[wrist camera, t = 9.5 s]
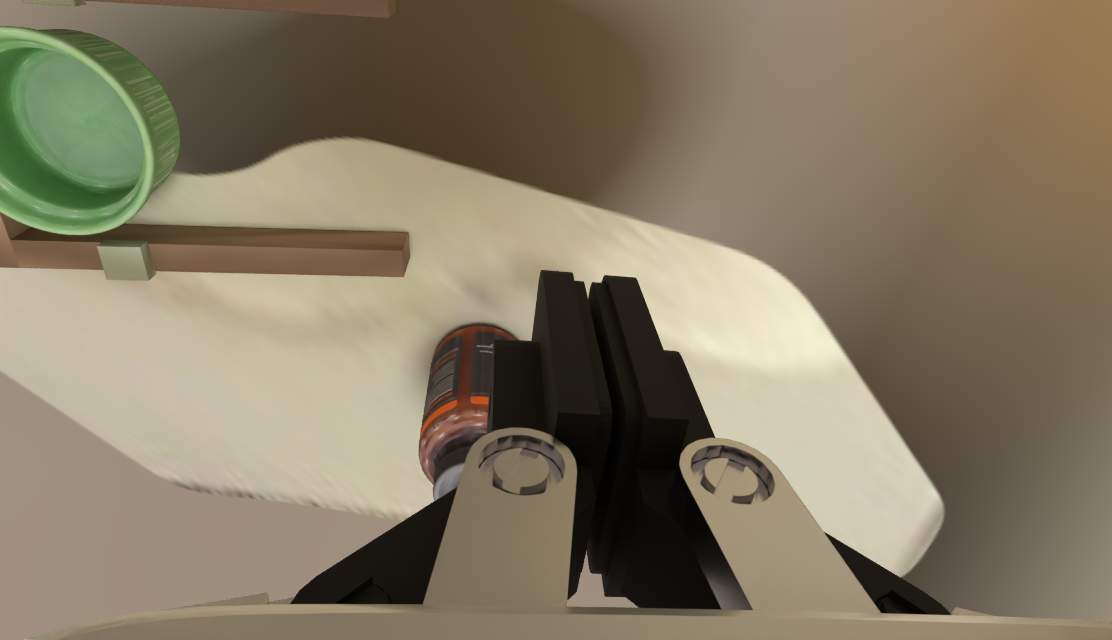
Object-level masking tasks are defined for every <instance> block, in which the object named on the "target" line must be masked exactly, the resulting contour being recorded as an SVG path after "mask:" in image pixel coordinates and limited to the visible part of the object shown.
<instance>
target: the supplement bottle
mask: <svg viewBox="0 0 1112 640" xmlns="http://www.w3.org/2000/svg"><path fill="white" fill-rule="evenodd" d="M494 339H506V340H516V339H515V338H514V337H512V336H511V335H510V334H508V333H506V332H505V331H502V330H500V329H497V328H494V327H489V326H472V327H466V328H463V329H460V330H457V331H455V332H454V333H452V334H450V335H449V336H448V337H446V338H445V339H444V340H443V341H442V342H441V344H440V345H439V346H438V348H437V349H436V351H435V353H434V356H433V360H432V363H431V369H430V376H429V382H428V389H427V396H426V402H425V407H424V415H423V420H422V428H421V434H420V441H419V459H420V464H421V467H422V470H423V472H424V474H425V475H426V477H427V478H428V479H429V481H430V482H431V483H432V484H433V485H434V487H433V496H434V500H435V501H436V500H437V499H439V498H440V497H442V496H444V495H445V494H447V493H448V492H450V491H451V490H453V489H455V488H456V487H458V484H459V481H460V477H461V474H462V471H463V467H464V464H465V461H466V457H467V454H468V453H469V451H470V449H471V447H472V445H473V444H474V443H475V442H476V441H478V440H479V439H480V438H481V437H482V436H484V435H486V434H487V417H488V400H489V386H490V374H491V363H492V352H493V343H494Z"/></svg>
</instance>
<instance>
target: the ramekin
mask: <svg viewBox="0 0 1112 640" xmlns="http://www.w3.org/2000/svg"><path fill="white" fill-rule="evenodd" d="M179 149H180V130H179V124H178V119H177V116H176V113H175V110H174V107H173V105H172V103H171V101H170V99H169V97H168V95H167V93H166V91H165V90H164V88H163V87H162V85H161V83H160V82H159V81H158V80H157V79H156V77H155V76H154V75H153V73H152V72H151V71H150V70H149V69H148V68H147V67H146V66H145V65H144V64H142V63H141V62H140V61H139V60H138V59H137V58H136V57H134V56H133V55H132V54H130V53H129V52H128V51H126V50H124V49H123V48H121V47H120V46H118V45H116V44H114V43H112V42H110V41H108V40H106V39H103V38H100V37H98V36H95V35H92V34H88V33H84V32H80V31H74V30H65V29H52V30H35V29H30V28H23V27H11V26H9V27H8V26H2V27H1V26H0V212H1V213H3V214H5V215H6V216H8V217H10V218H12V219H14V220H16V221H18V222H21V223H23V224H26V225H28V226H31V227H34V228H37V229H40V230H44V231H48V232H52V233H58V234H66V235H90V234H96V233H101V232H105V231H108V230H111V229H114V228H116V227H118V226H120V225H122V224H124V223H125V222H127V221H128V220H130V219H131V218H132V217H133V216H134V215H135V214H136V213H137V212H138V211H139V210H140V209H141V208H142V207H143V205H144V204H145V202H146V201H147V199H148V198H149V196H150V194H151V193H152V192H153V191H154V190H155V189H156V188H158V187H159V186H160V185H161V184H162V183H163V182H164V181H165V179H166V178H167V177H168V175H169V174H170V173H171V171H172V170H173V167H174V165H175V163H176V160H177V157H178V154H179Z"/></svg>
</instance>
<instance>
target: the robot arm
mask: <svg viewBox="0 0 1112 640" xmlns="http://www.w3.org/2000/svg"><path fill="white" fill-rule="evenodd" d="M586 550H587V556H588V562H589V569H590V572H591V573H593V574H601V575H602V581H603V588H604V595H605V597H626V598H628V599H629V600H630V601H631V602H633V603H634V604H635V605H636V606H637V608H616V607H567V600H568V599H570V597H571V596H573V595H574V594H575V593H576V592H577V588H578V583H579V578H580V573H581V572H582V569H583V563H584V559H585V555H586ZM25 640H1112V622H1105V621H1092V620H1076V619H1048V618H1020V617H998V616H997V617H996V616H991V615H987V614H983V613H978V612H974V611H970V610H965V609H961V608H955V609H954V610H953V612H952V614H950V613H949V612H948V611H947V610H946V609H945V608H944V607H943V606H942V605H941V604H940V603H939V602H937V601H936V600H934V599H933V598H932V597H930V596H929V595H928V594H926V593H925V592H923V591H922V590H920V589H918V588H917V587H915V586H913V585H912V584H910V583H908V582H906V581H905V580H903V579H902V578H900V577H898V576H897V575H895V574H893V573H892V572H890V571H888V570H887V569H885V568H883V567H882V566H880V565H878V564H877V563H875V562H873V561H872V560H870V559H868V558H867V557H865V556H863V555H862V554H860V553H858V552H857V551H855V550H853V549H852V548H850V547H848V546H847V545H845V544H843V543H842V542H840V541H838V540H837V539H835V538H833V537H832V536H830V535H828V534H827V533H825V532H823V530H822V529H821V528H820V526H819V525H818V523H817V522H816V520H815V519H814V518H813V516H812V515H811V513H810V512H809V511H808V509H807V508H806V506H805V505H804V503H803V502H802V501H801V499H800V498H799V496H798V495H797V494H796V492H795V491H794V489H793V488H792V487H791V485H790V484H789V482H788V481H787V479H786V478H785V477H784V475H783V474H782V472H781V471H780V470H779V469H778V467H777V466H776V465H775V464H774V463H773V462H772V461H771V460H770V459H769V458H768V457H766V456H765V455H763V454H762V453H761V452H759V451H758V450H756V449H754V448H752V447H750V446H747V445H745V444H743V443H740V442H737V441H733V440H729V439H722V438H715V436H714V433H713V431H712V429H711V426H710V424H709V421H708V419H707V417H706V414H705V412H704V409H703V407H702V404H701V402H700V400H699V397H698V395H697V392H696V390H695V388H694V385H693V383H692V380H691V378H690V375H689V373H688V371H687V368H686V366H685V363H684V361H683V359H682V357H681V355H680V353H679V352H677V351H667V350H663V347H662V344H661V342H660V339H659V337H658V334H657V331H656V329H655V326H654V323H653V321H652V318H651V315H650V313H649V310H648V307H647V305H646V302H645V299H644V297H643V294H642V292H641V289H640V286H639V284H638V281H637V279H636V278H633V277H620V276H608V275H605V276H604V277H603V280H602V283H595V282H592V284H591V287H590V292H589V298H588V297H587V293H586V289H585V284H584V282H582V281H574V277H573V273H571V272H559V271H547V270H541V272H540V277H539V285H538V293H537V301H536V309H535V317H534V325H533V334H532V341H520V340H506V339H494V343H493V352H492V363H491V374H490V386H489V400H488V417H487V434H486V435H484V436H482V437H481V438H480V439H479V440H478V441H476V442H475V443H474V444H473V445H472V447H471V449H470V451H469V453H468V454H467V457H466V461H465V464H464V467H463V471H462V474H461V477H460V481H459V484H458V487H456V488H455V489H453V490H451V491H450V492H448V493H447V494H445V495H444V496H442V497H440V498H439V499H437V500H436V501H434V502H433V503H431V504H429V505H428V506H426V507H425V508H423V509H422V510H420V511H418V512H417V513H415V514H414V515H412V516H411V517H409V518H407V519H406V520H404V521H403V522H401V523H400V524H398V525H396V526H395V527H393V528H392V529H390V530H389V531H387V532H385V533H384V534H382V535H381V536H379V537H378V538H376V539H374V540H373V541H372V542H370V543H368V544H367V545H365V546H364V547H362V548H360V549H359V550H357V551H356V552H354V553H352V554H351V555H349V556H348V557H346V558H345V559H343V560H342V561H340V562H338V563H337V564H335V565H334V566H332V567H330V568H329V569H327V570H326V571H325V572H323V573H321V574H319V575H318V576H316V577H315V578H314V579H313V580H311V581H310V582H309V583H308V584H307V585H305V586H304V587H303V588H302V589H301V590H300V591H299V592H298V594H297V595H296V596H295V597H294V598H288V599H282V600H277V601H271V602H269V595H268V592H266V593H260V594H254V595H248V596H242V597H237V598H231V599H225V600H219V601H213V602H207V603H202V604H195V605H190V606H184V607H178V608H172V609H166V610H160V611H151V612H141V613H135V614H130V615H125V616H119V617H114V618H109V619H103V620H98V621H93V622H87V623H82V624H77V625H73V626H69V627H66V628H62V629H59V630H55V631H52V632H48V633H45V634H42V635H38V636H35V637H31V638H28V639H25Z"/></svg>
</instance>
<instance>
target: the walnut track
mask: <svg viewBox="0 0 1112 640" xmlns="http://www.w3.org/2000/svg"><path fill="white" fill-rule="evenodd" d="M22 1H23V3H31V4H49V5H67V6H79V5H86V3H85V1H101V2H119V3H137V4H156V5H172V6H189V7H207V8H225V9H242V10H260V11H277V12H278V11H279V12H295V13H296V12H297V13H312V14H330V15H331V14H332V15H347V16H365V17H366V16H367V17H383V18H389V17H391V16H392V15H394V14H395V13H396V12H397V9H396V0H22ZM409 259H410V251H409V233H405V232H371V231H338V230H304V229H270V228H237V227H203V226H169V225H136V224H122V225H120V226H118V227H116V228H114V229H111V230H108V231H105V232H101V233H96V234H90V235H66V234H58V233H52V232H48V231H44V230H40V229H37V228H34V227H31V226H28V225H26V224H23V223H21V222H18V221H16V220H14V219H12V218H10V217H8V216H6V215H5V214H3V213H1V212H0V267H7V268H49V269H91V270H104V272H105V275H106V279H107V280H146V281H149V280H150V279H151V278H152V277H153V276H154V275H155V274H156V271H174V272H215V273H257V274H299V275H340V276H382V277H404V275H405V272H406V268H407V265H408V262H409Z"/></svg>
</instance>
